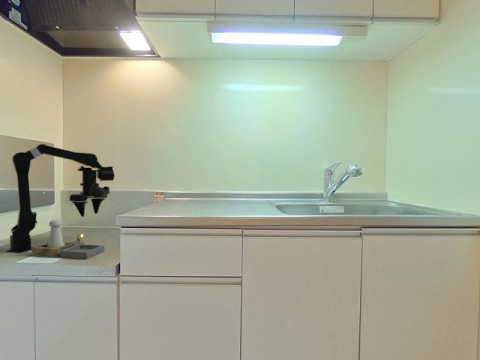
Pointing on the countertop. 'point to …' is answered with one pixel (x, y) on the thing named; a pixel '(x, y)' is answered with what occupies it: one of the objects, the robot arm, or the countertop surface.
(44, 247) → the socket block
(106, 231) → the countertop surface
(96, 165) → the robot arm
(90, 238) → the countertop surface
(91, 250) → the tray
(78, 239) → the key
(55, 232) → the salt shaker
